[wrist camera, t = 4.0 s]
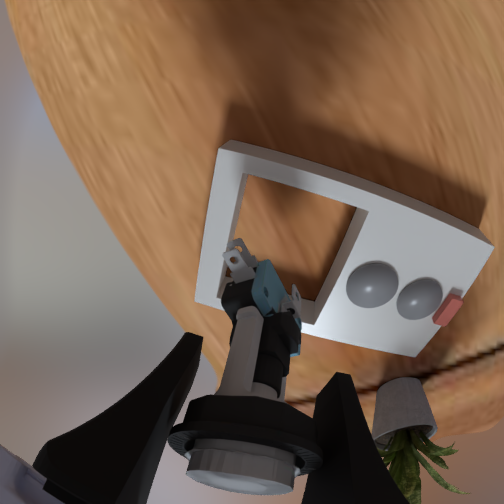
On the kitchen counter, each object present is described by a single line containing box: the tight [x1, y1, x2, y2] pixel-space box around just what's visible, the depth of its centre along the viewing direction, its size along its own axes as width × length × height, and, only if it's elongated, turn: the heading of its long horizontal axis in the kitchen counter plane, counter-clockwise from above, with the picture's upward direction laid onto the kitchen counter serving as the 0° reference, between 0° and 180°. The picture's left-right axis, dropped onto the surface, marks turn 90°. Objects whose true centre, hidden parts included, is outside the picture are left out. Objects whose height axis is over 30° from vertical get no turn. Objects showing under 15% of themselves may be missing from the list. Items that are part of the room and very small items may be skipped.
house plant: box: [372, 377, 468, 504], centre depth 20 cm, size 14×14×16 cm
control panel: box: [195, 139, 494, 357], centre depth 18 cm, size 18×11×3 cm, turn 77°
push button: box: [167, 238, 323, 495], centre depth 11 cm, size 7×5×10 cm
